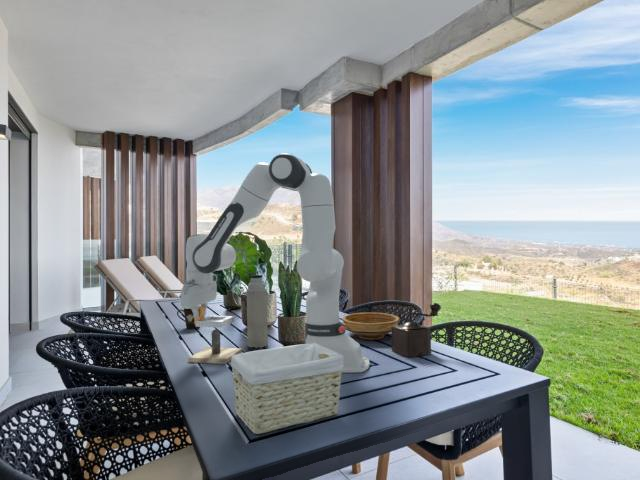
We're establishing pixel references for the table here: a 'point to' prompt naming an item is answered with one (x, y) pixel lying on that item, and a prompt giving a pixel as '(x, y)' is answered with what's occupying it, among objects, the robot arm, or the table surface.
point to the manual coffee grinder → (413, 335)
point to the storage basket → (286, 385)
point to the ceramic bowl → (370, 324)
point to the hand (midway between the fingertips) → (199, 316)
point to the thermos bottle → (257, 312)
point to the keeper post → (215, 352)
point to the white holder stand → (212, 320)
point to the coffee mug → (188, 318)
